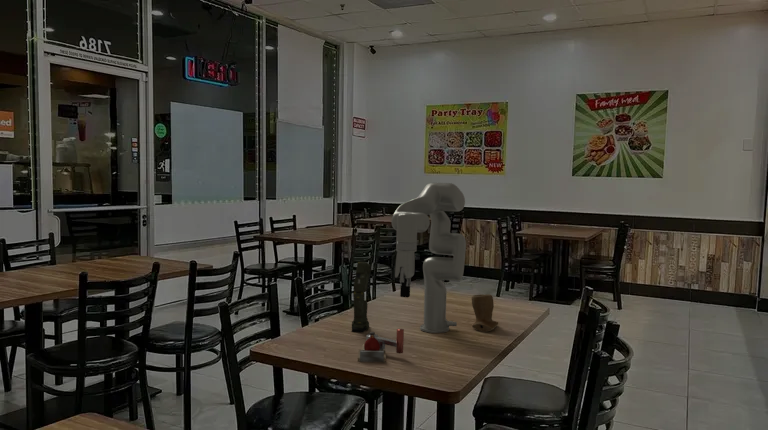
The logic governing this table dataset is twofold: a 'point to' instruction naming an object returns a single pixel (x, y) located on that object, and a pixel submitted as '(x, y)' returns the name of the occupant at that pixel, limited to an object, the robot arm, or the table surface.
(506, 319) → the table surface
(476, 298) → the brown boot
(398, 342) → the lever
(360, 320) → the mechanical leg
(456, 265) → the robot arm
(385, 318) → the table surface
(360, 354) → the base
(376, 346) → the onion
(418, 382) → the table surface
